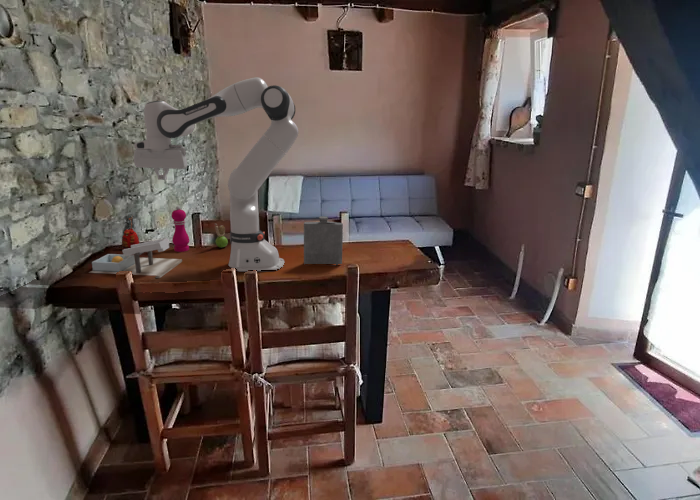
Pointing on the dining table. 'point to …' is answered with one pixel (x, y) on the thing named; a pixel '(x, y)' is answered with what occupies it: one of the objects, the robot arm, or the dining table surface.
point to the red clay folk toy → (129, 237)
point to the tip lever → (147, 247)
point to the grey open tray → (112, 263)
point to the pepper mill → (180, 231)
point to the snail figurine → (221, 236)
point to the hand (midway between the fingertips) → (162, 179)
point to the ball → (117, 259)
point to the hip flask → (323, 242)
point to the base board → (149, 266)
